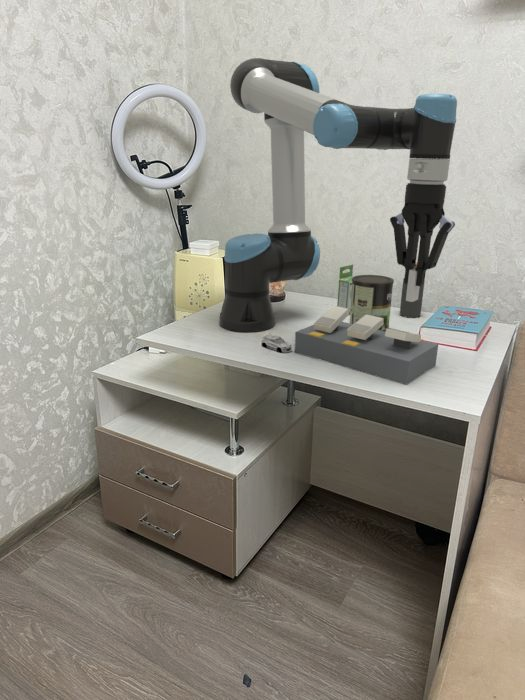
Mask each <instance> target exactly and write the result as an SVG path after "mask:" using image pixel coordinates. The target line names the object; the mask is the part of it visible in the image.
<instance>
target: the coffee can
mask: <svg viewBox="0 0 525 700" xmlns="http://www.w3.org/2000/svg"><path fill="white" fill-rule="evenodd" d="M394 282H395V281H394V278H392V277H389V276H385V275H379V274H359V275H355V276H354V277H353V278H352V296H351V311H350V314H349V315H350V316H349V323H350V324H355V323H356V322H357V321H358V320H360V319H361V318H362V317H364V316H365V315H371V316H376V317H380V318H384V325H383V326H381V327H380V328H379V329H378V330H380V331H385V332H386V328H387V329H388V328H390V317H391V308H392V299H393V298H392V297H393V287H394V286H393V285H394Z"/></svg>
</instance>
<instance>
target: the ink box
mask: <svg viewBox="0 0 525 700" xmlns="http://www.w3.org/2000/svg"><path fill="white" fill-rule="evenodd" d="M345 270H349V271H347V272H344V271H345ZM343 272H344V273H343ZM353 272H354V264H348V265H345V266H340V267H339V275H338V276H339V278H338V279H339V280H338V290H337V291H338V292H337V304H336V306H338V307H342V308H347V309H348V310H349V315H350V311H351V296H352V278H353V277H355V276H354V275H353Z"/></svg>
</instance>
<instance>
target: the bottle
mask: <svg viewBox="0 0 525 700" xmlns="http://www.w3.org/2000/svg"><path fill="white" fill-rule="evenodd" d="M416 264H417V261H416ZM414 268H417V266H416V267H414ZM407 286H408V284H405V283H404V278H403V279H402V287H401V298H400V306H399V315H400V316H401V317H404V318H408V319H409V318H411V319H412V318H413V319H414V318H419V317H421V313H422V305H423V297H424V289H425V283H424V284H423V285H422V286H420V288H419V296H418V300H416V301H413V302H410V301H406V294H407Z"/></svg>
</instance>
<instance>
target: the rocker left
mask: <svg viewBox="0 0 525 700" xmlns="http://www.w3.org/2000/svg"><path fill="white" fill-rule="evenodd" d="M349 315H350V314H349V310H348V309H347V308H342V307H338V306H337V305H331V306H330V307H329V308H328V309H327V310H326V311H325V312H324V313H322V315H321V316H319V318H318V319H316V320H315V321H314V322H313V324H312V325H314V329H315V330H319V331H323V332H327V333H331V332H332V331H333V330H334V329H335V328H336V327H337V326H338V325H339V324H340V323H341V322H344V320H345V319H346V318H348V316H349Z"/></svg>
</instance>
